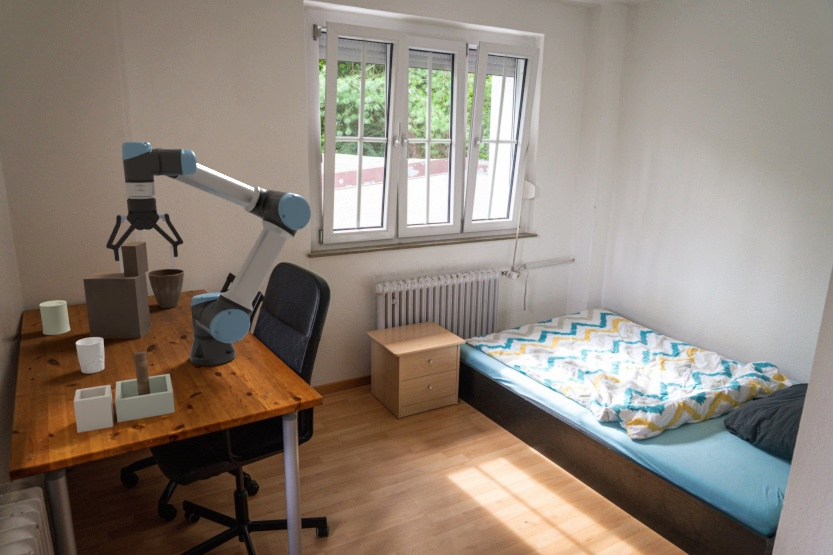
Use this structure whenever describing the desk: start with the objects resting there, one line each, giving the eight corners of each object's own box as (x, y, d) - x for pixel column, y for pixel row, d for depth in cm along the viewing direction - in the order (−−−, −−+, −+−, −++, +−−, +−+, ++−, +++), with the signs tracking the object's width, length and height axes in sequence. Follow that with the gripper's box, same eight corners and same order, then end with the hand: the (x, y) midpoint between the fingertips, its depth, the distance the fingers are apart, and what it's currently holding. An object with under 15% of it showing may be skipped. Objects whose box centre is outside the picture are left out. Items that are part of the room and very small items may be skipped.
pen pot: (114, 416, 156) (110, 384, 153) (113, 429, 149) (109, 396, 146) (80, 422, 152) (76, 389, 150) (78, 436, 145) (73, 401, 143)
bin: (171, 395, 169) (169, 373, 167) (175, 415, 157) (172, 392, 155) (118, 404, 163) (116, 381, 161) (117, 425, 151) (115, 401, 149)
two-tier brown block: (155, 326, 232) (147, 241, 224) (141, 337, 218) (132, 248, 210) (107, 326, 231) (97, 241, 223) (89, 338, 217) (78, 247, 209)
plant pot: (180, 300, 271) (177, 267, 268) (191, 307, 260) (188, 272, 257) (147, 305, 262) (143, 271, 258) (156, 312, 251) (153, 277, 247)
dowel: (151, 403, 162) (145, 350, 158) (151, 407, 159) (146, 354, 155) (139, 405, 160) (133, 352, 156) (139, 409, 158) (133, 355, 154)
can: (68, 333, 222) (64, 304, 219) (40, 336, 219) (36, 306, 216) (72, 326, 231) (68, 298, 228) (45, 329, 227) (41, 300, 224)
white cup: (76, 375, 183) (72, 346, 180) (83, 366, 190) (79, 338, 188) (103, 373, 185) (99, 344, 183) (109, 364, 192) (106, 336, 190)
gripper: (90, 199, 154) (99, 276, 159) (189, 197, 165) (194, 268, 169) (91, 197, 160) (100, 270, 165) (186, 195, 171) (192, 264, 176)
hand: (148, 270), depth 167 cm, fingers open, 13 cm apart
